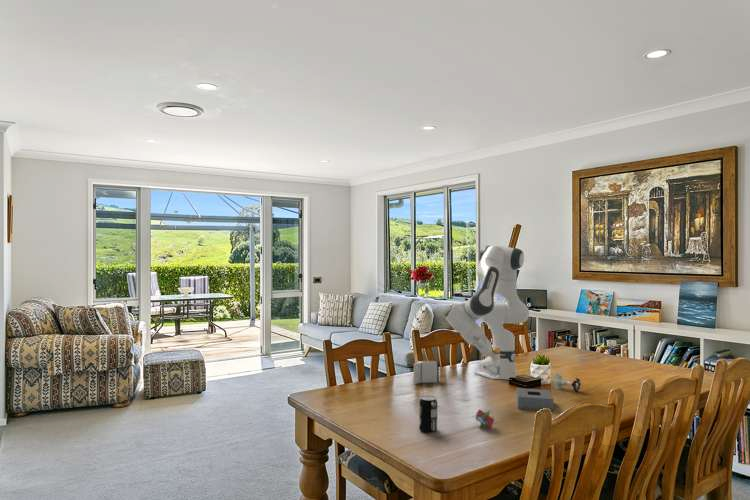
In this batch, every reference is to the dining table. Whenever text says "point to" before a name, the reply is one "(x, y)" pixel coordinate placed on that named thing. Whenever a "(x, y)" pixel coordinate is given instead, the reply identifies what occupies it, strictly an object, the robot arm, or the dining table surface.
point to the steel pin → (495, 362)
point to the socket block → (534, 399)
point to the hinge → (426, 371)
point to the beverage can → (428, 414)
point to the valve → (565, 382)
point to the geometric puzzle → (484, 419)
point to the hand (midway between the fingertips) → (497, 359)
